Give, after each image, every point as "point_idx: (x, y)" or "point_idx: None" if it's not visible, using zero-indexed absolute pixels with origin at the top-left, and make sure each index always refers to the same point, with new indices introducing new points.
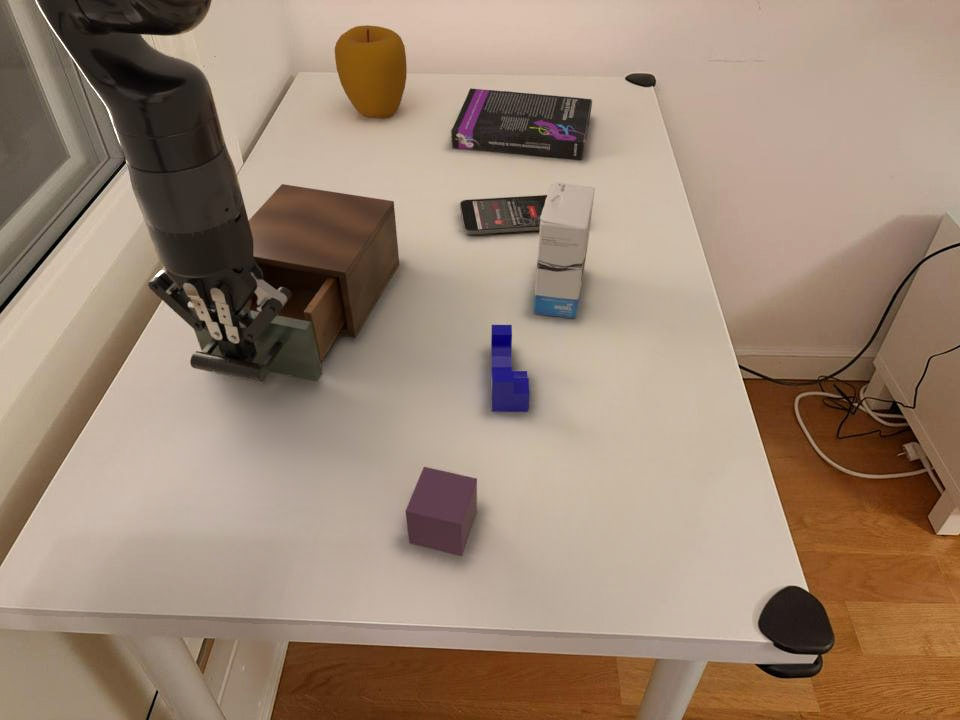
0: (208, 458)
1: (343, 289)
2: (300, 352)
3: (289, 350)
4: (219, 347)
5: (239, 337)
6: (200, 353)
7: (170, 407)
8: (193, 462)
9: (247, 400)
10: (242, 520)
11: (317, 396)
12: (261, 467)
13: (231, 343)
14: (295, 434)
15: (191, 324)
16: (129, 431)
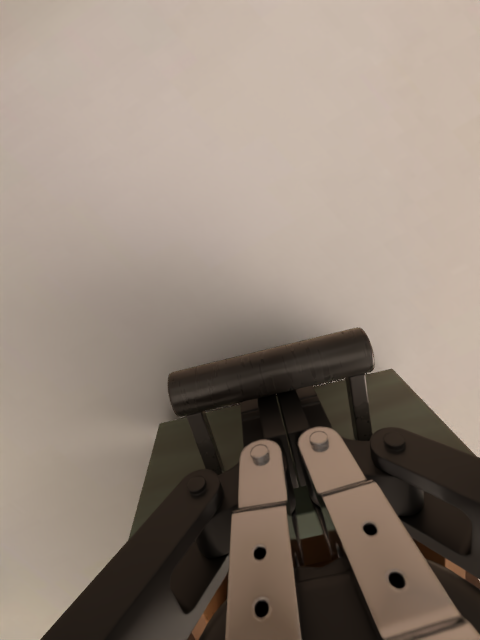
0: (215, 182)
1: (191, 638)
2: (169, 473)
3: (196, 467)
4: (320, 406)
5: (239, 467)
6: (355, 368)
7: (379, 247)
8: (234, 157)
9: (255, 333)
10: (25, 85)
11: (151, 398)
12: (106, 220)
13: (271, 434)
14: (116, 315)
15: (414, 440)
16: (417, 152)
